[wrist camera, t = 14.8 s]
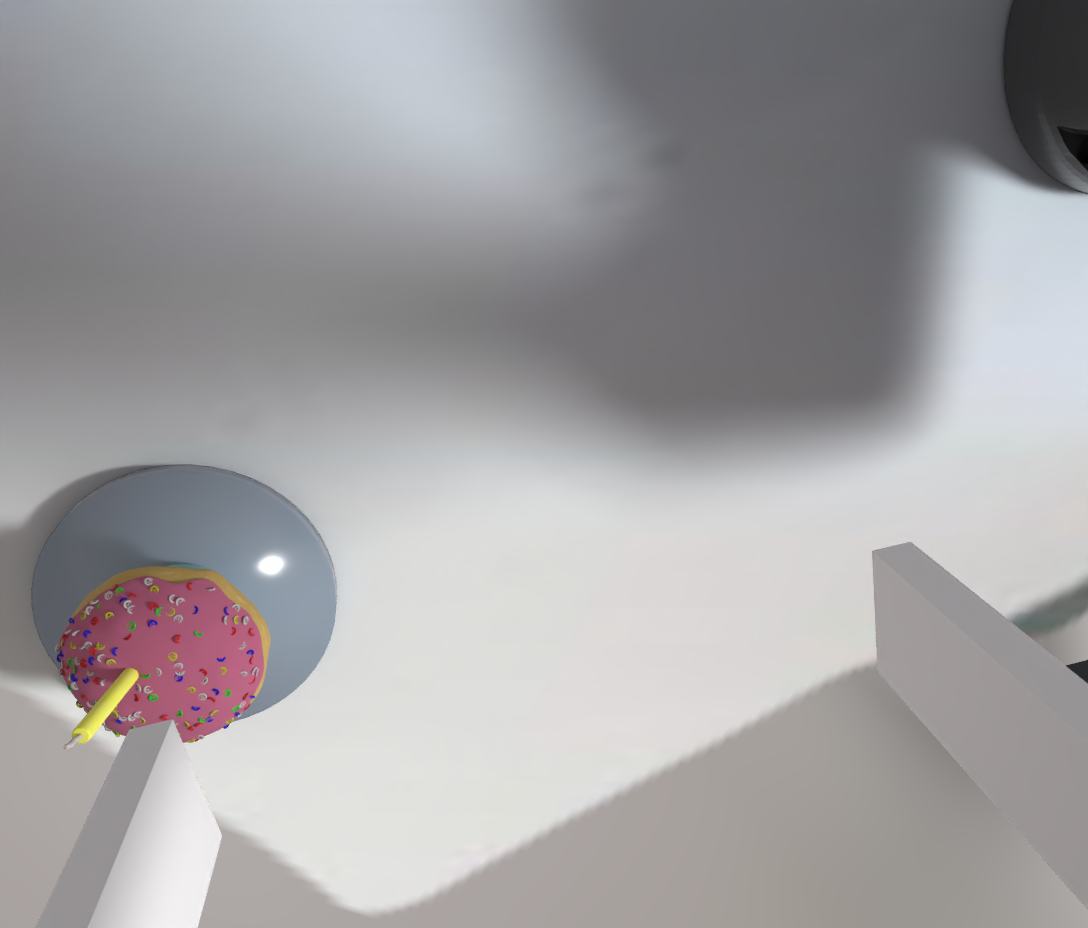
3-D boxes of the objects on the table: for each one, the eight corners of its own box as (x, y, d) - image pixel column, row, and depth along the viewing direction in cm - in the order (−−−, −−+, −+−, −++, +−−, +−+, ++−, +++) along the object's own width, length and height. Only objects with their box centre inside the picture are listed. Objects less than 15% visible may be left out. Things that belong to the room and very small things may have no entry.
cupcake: (63, 638, 42) (-49, 817, 31) (141, 495, 40) (53, 629, 29) (231, 703, 44) (184, 889, 33) (311, 572, 43) (289, 722, 32)
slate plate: (130, 410, 40) (123, 417, 39) (389, 553, 45) (389, 564, 43) (-13, 639, 42) (-24, 652, 41) (247, 751, 47) (244, 766, 46)
